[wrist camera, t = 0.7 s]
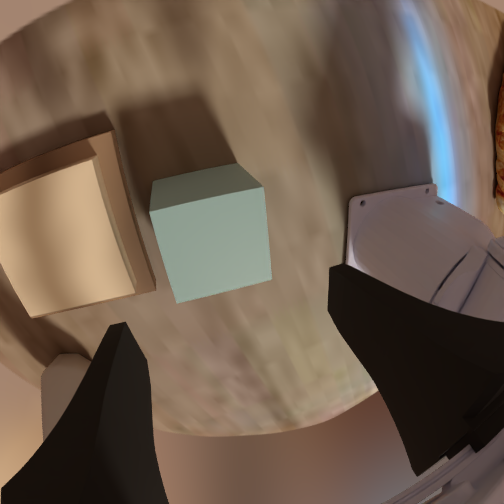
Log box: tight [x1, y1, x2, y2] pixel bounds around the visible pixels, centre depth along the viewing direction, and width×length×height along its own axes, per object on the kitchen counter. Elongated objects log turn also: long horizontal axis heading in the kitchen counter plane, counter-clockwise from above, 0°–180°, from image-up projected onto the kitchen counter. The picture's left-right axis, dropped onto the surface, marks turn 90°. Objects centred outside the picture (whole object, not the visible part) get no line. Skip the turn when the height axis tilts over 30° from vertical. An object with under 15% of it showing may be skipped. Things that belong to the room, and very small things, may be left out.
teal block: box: [149, 163, 272, 303], centre depth 16 cm, size 5×5×5 cm
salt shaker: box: [41, 353, 91, 441], centre depth 15 cm, size 6×6×13 cm
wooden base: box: [0, 129, 156, 319], centre depth 14 cm, size 10×10×2 cm
